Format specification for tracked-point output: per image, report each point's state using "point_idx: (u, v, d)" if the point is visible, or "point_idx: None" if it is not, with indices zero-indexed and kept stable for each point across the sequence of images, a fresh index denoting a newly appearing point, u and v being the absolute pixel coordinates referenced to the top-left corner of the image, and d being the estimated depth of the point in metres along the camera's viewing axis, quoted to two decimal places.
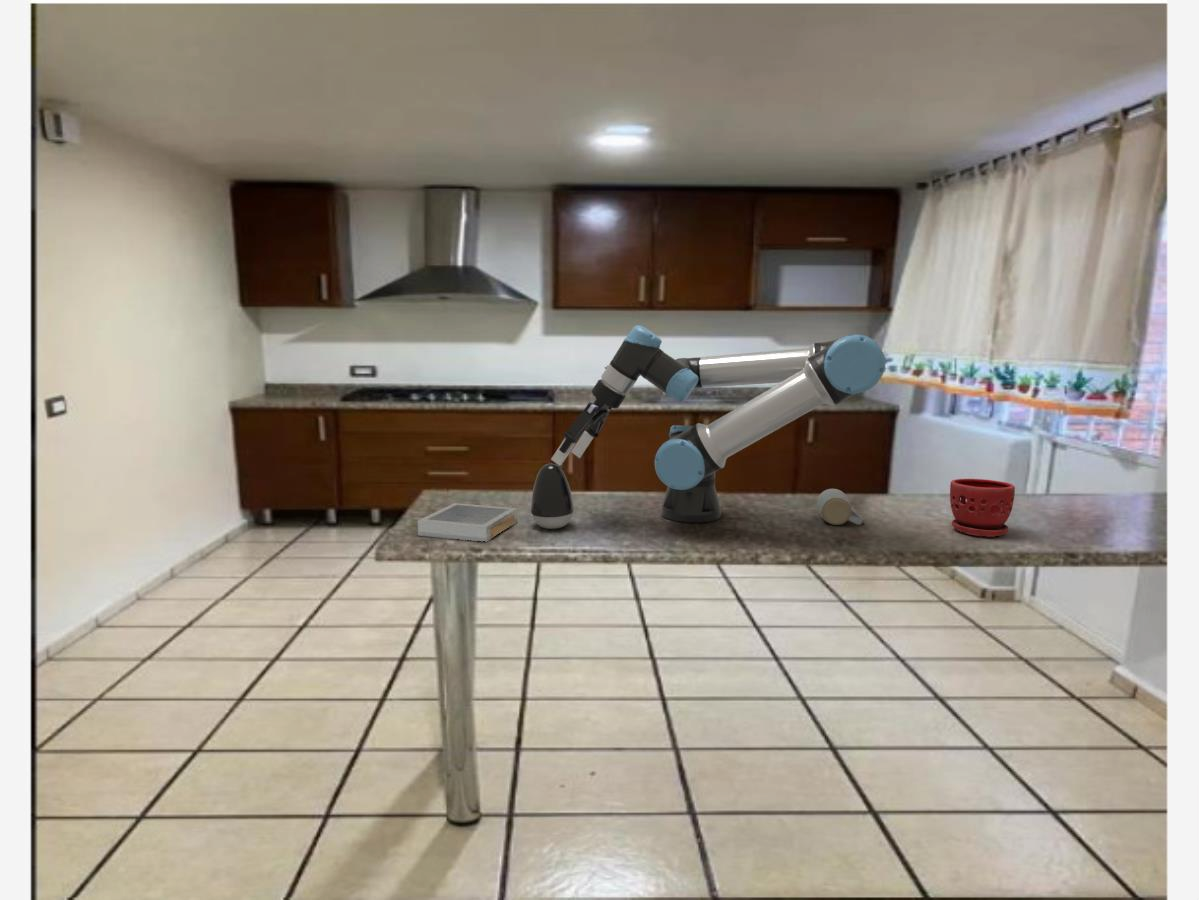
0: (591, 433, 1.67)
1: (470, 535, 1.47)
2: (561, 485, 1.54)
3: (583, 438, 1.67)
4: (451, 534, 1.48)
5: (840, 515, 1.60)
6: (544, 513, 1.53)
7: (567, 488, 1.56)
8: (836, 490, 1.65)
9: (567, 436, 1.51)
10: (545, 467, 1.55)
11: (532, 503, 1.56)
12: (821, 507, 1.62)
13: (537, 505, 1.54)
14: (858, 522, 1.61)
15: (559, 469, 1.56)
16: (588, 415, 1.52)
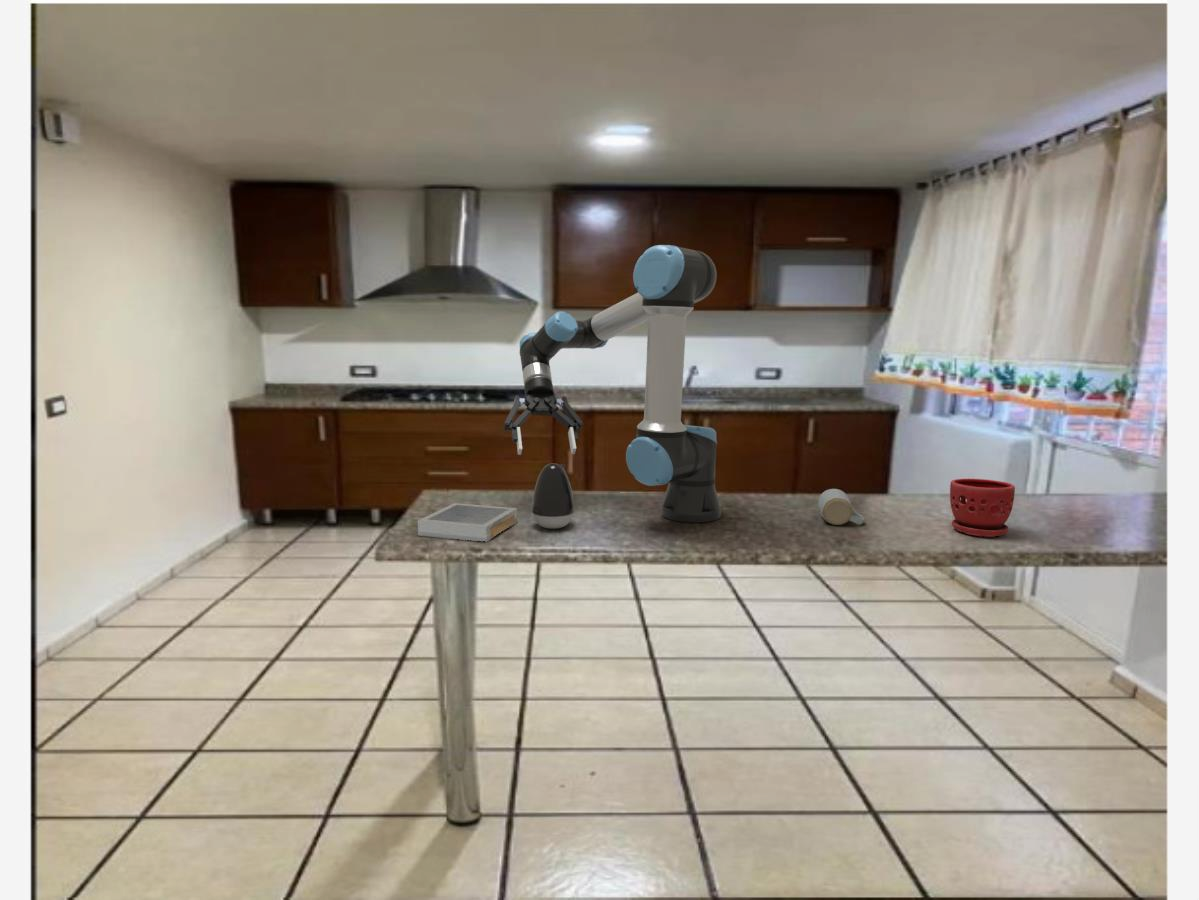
0: None
1: (470, 535, 1.47)
2: (563, 485, 1.55)
3: (569, 436, 1.70)
4: (451, 534, 1.48)
5: (841, 515, 1.60)
6: (545, 512, 1.54)
7: (569, 488, 1.56)
8: (837, 490, 1.65)
9: (504, 426, 1.67)
10: (548, 466, 1.56)
11: (533, 502, 1.56)
12: (822, 507, 1.62)
13: (539, 504, 1.54)
14: (859, 522, 1.61)
15: (561, 469, 1.56)
16: None
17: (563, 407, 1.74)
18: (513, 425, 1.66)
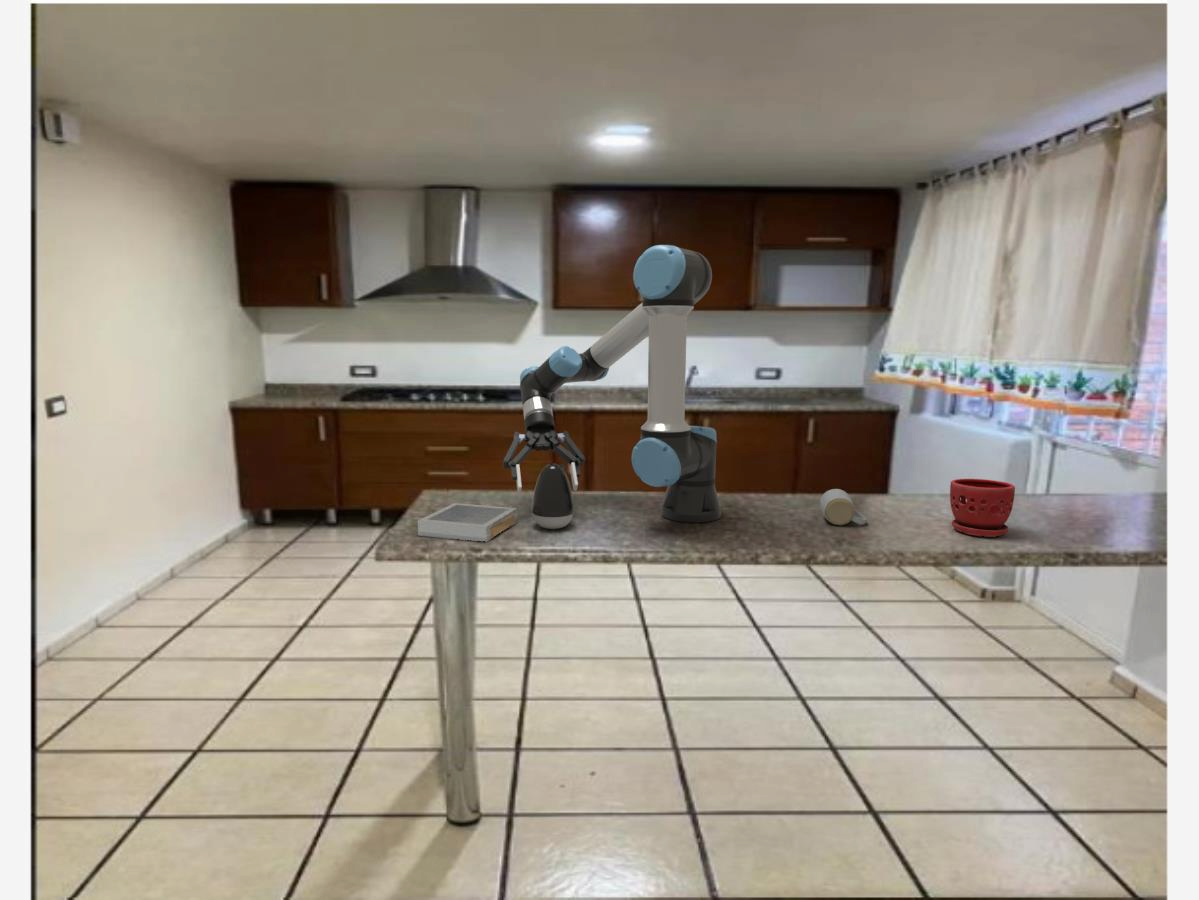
0: None
1: (470, 535, 1.47)
2: (563, 485, 1.55)
3: (571, 472, 1.64)
4: (451, 534, 1.48)
5: (843, 515, 1.60)
6: (545, 513, 1.53)
7: (569, 489, 1.56)
8: (839, 490, 1.65)
9: (503, 464, 1.62)
10: (548, 467, 1.55)
11: (533, 502, 1.56)
12: (824, 507, 1.62)
13: (539, 504, 1.54)
14: (861, 522, 1.61)
15: (561, 469, 1.56)
16: None
17: (565, 442, 1.69)
18: (512, 462, 1.61)
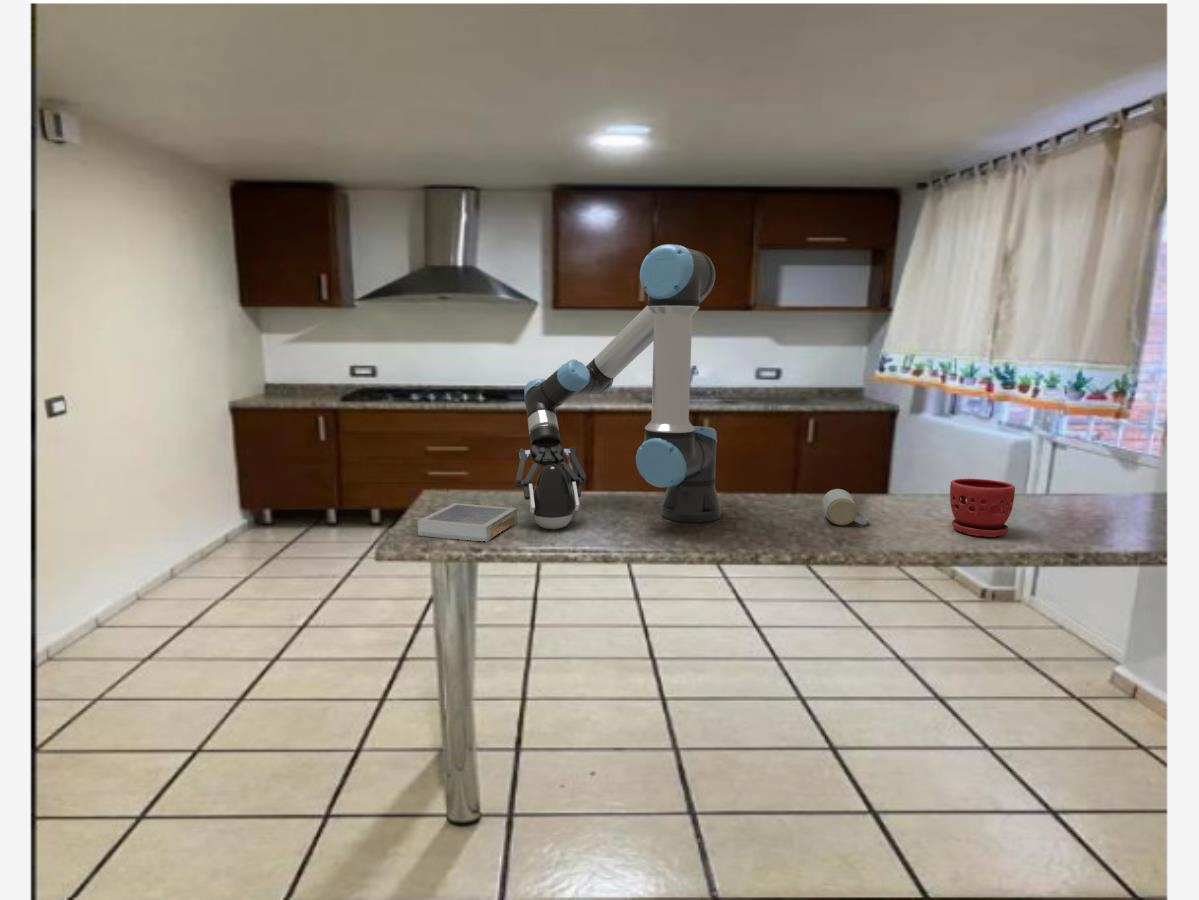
0: (574, 482, 1.60)
1: (470, 535, 1.47)
2: (563, 486, 1.54)
3: (572, 491, 1.60)
4: (451, 534, 1.48)
5: (845, 515, 1.60)
6: (545, 513, 1.53)
7: (569, 489, 1.56)
8: (841, 490, 1.65)
9: (515, 483, 1.58)
10: (547, 467, 1.55)
11: None
12: (826, 507, 1.62)
13: (539, 504, 1.54)
14: (863, 522, 1.61)
15: (561, 470, 1.56)
16: (520, 459, 1.61)
17: (570, 458, 1.65)
18: (525, 482, 1.57)
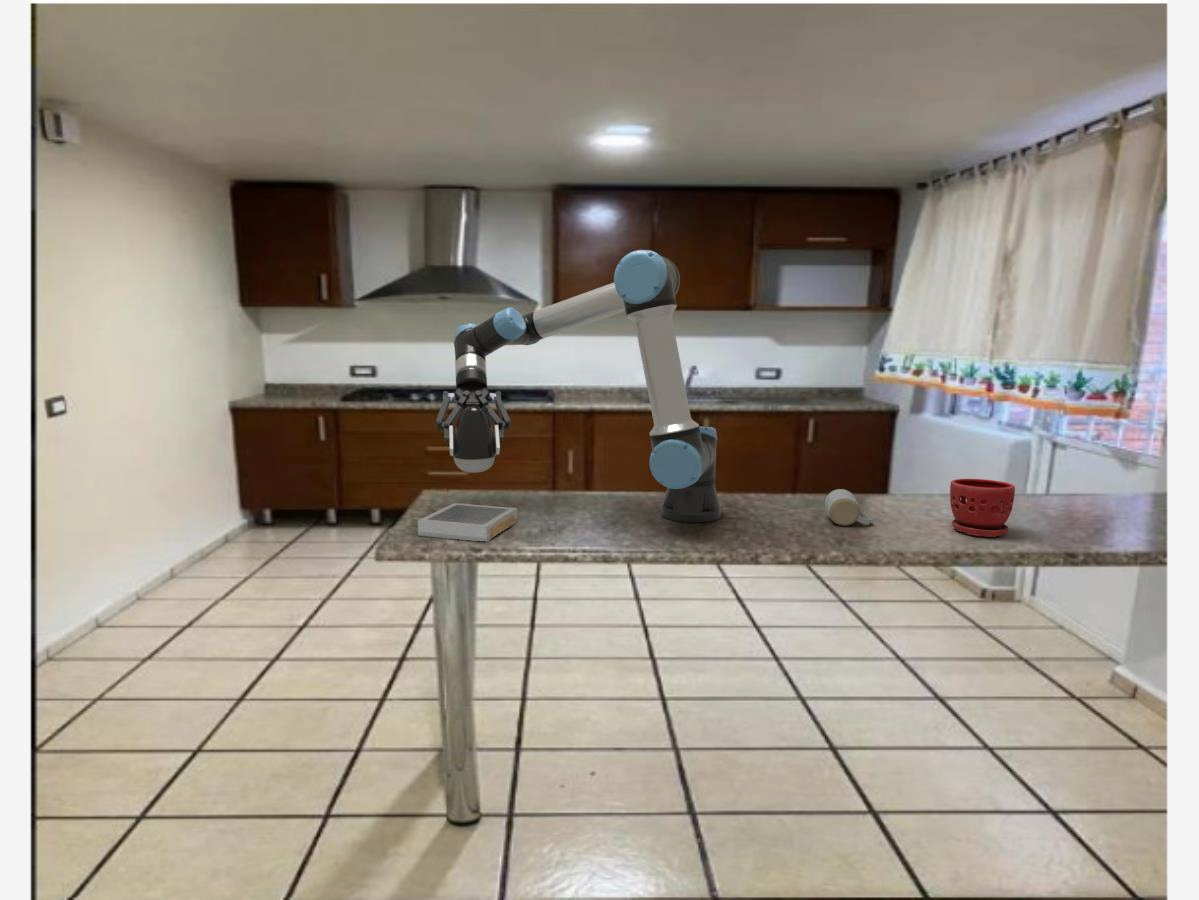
0: None
1: (470, 535, 1.47)
2: (483, 427, 1.50)
3: None
4: (451, 534, 1.48)
5: (848, 515, 1.60)
6: (464, 455, 1.50)
7: (489, 431, 1.52)
8: (844, 490, 1.65)
9: (436, 425, 1.54)
10: (467, 408, 1.51)
11: (453, 445, 1.52)
12: (829, 507, 1.61)
13: (457, 446, 1.50)
14: (866, 523, 1.61)
15: (481, 411, 1.52)
16: None
17: (495, 402, 1.61)
18: (445, 424, 1.53)
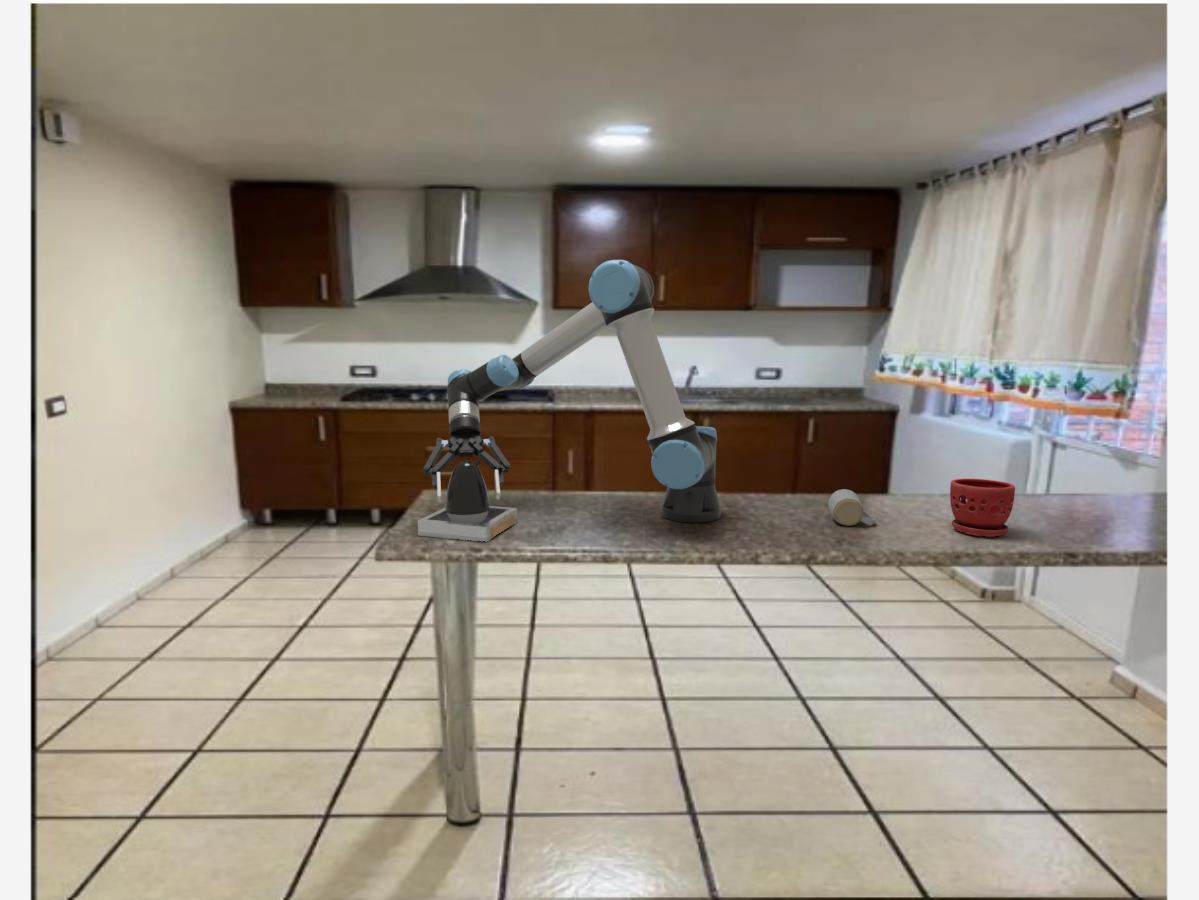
0: (497, 470, 1.58)
1: (470, 535, 1.47)
2: (476, 482, 1.52)
3: None
4: (451, 534, 1.48)
5: (852, 515, 1.60)
6: (457, 510, 1.51)
7: (482, 486, 1.53)
8: (848, 491, 1.65)
9: (424, 471, 1.55)
10: (460, 464, 1.53)
11: (446, 500, 1.53)
12: (833, 508, 1.61)
13: (451, 502, 1.51)
14: (870, 523, 1.60)
15: (474, 466, 1.53)
16: None
17: (490, 448, 1.62)
18: (433, 470, 1.54)
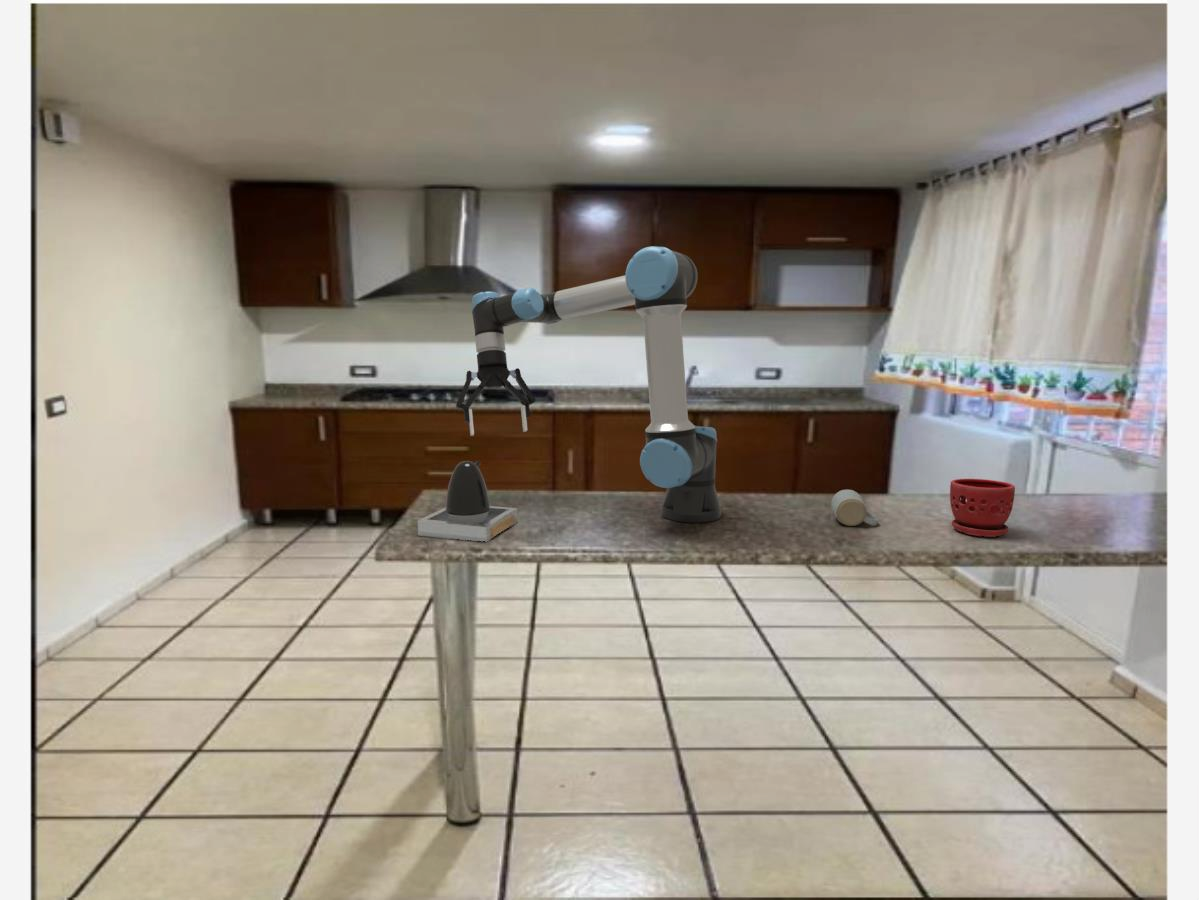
0: (524, 404, 1.73)
1: (470, 535, 1.47)
2: (476, 483, 1.52)
3: (521, 413, 1.74)
4: (451, 534, 1.48)
5: (855, 515, 1.59)
6: (457, 511, 1.51)
7: (482, 486, 1.53)
8: (851, 491, 1.65)
9: (456, 405, 1.69)
10: (460, 464, 1.53)
11: (446, 501, 1.53)
12: (836, 508, 1.61)
13: (451, 502, 1.51)
14: (873, 523, 1.60)
15: (475, 467, 1.53)
16: None
17: (516, 379, 1.74)
18: (465, 407, 1.68)
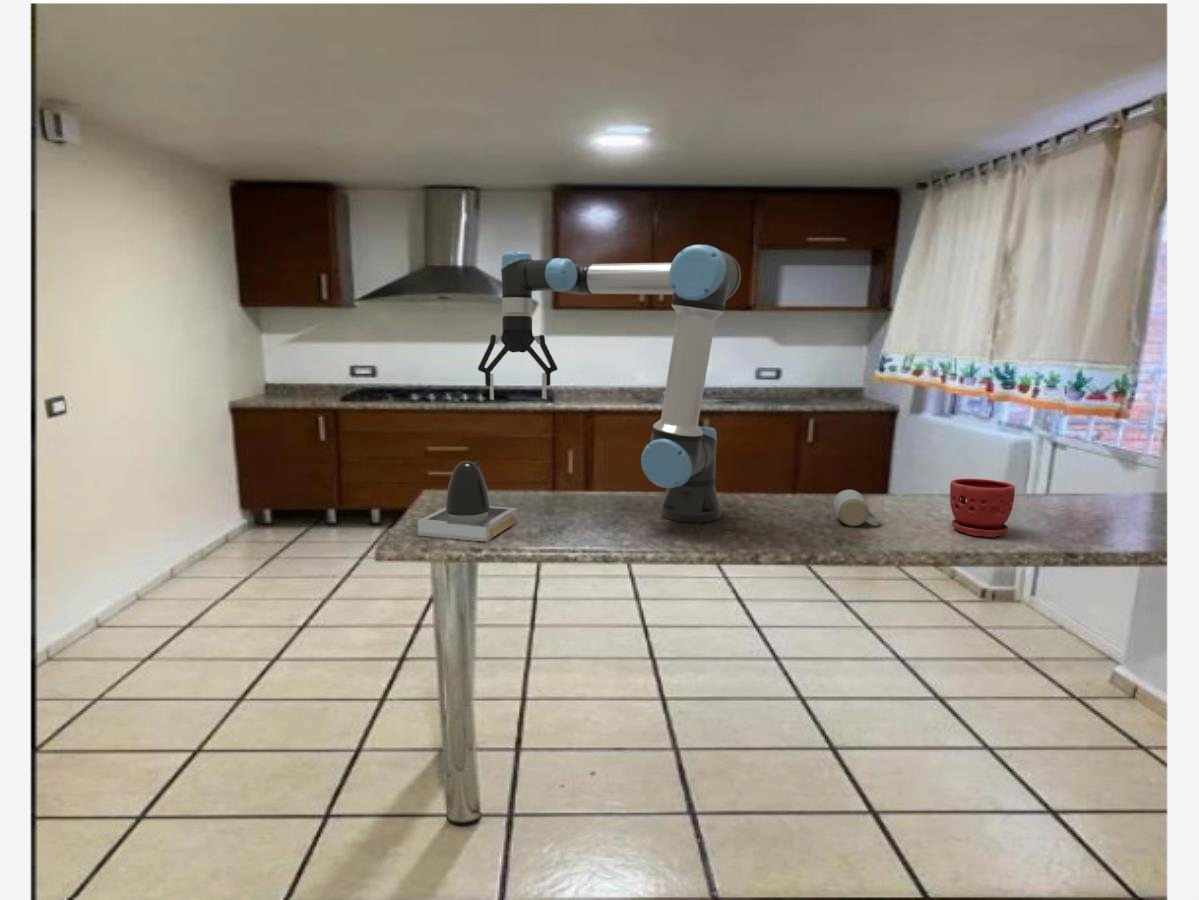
0: (545, 371, 1.73)
1: (470, 535, 1.47)
2: (476, 483, 1.52)
3: (542, 379, 1.74)
4: (451, 534, 1.48)
5: (857, 516, 1.59)
6: (457, 511, 1.51)
7: (482, 486, 1.53)
8: (853, 491, 1.64)
9: (478, 368, 1.69)
10: (460, 464, 1.53)
11: (446, 501, 1.53)
12: (838, 508, 1.61)
13: (451, 502, 1.51)
14: (875, 523, 1.60)
15: (475, 467, 1.53)
16: (489, 344, 1.68)
17: (540, 345, 1.72)
18: (487, 371, 1.68)
